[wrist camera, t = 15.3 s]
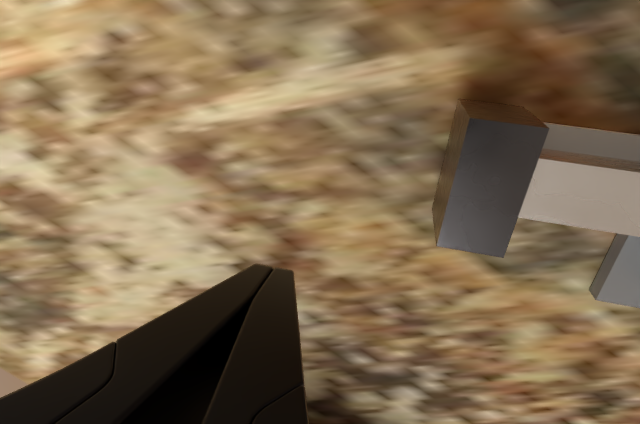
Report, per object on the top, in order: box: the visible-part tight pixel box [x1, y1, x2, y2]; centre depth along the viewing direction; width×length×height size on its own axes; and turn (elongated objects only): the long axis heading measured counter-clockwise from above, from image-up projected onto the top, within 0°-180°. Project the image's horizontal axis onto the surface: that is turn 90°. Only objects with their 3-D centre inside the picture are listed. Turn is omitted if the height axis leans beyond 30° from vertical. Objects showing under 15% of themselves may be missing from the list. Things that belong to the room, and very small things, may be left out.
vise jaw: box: [432, 99, 640, 258], centre depth 15 cm, size 12×9×3 cm
